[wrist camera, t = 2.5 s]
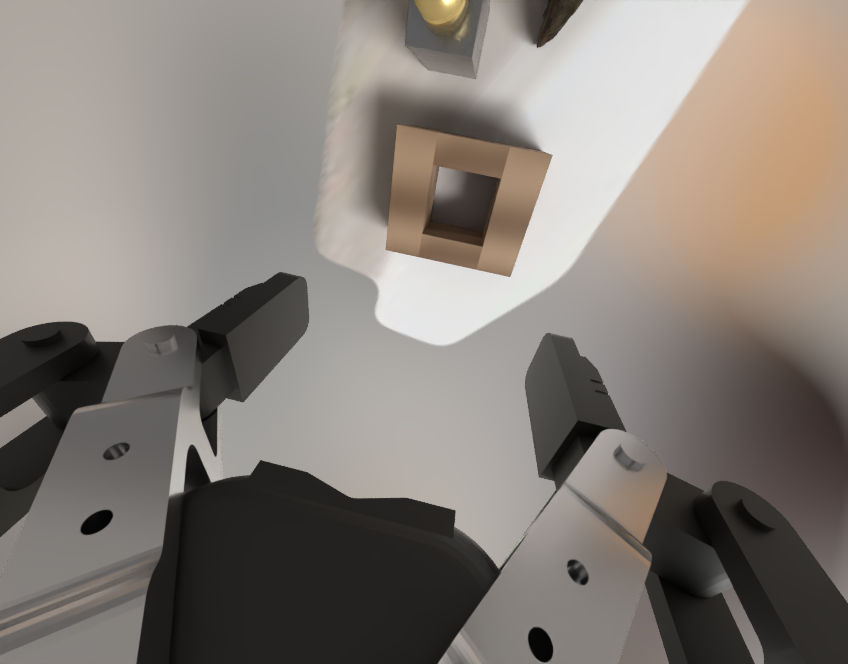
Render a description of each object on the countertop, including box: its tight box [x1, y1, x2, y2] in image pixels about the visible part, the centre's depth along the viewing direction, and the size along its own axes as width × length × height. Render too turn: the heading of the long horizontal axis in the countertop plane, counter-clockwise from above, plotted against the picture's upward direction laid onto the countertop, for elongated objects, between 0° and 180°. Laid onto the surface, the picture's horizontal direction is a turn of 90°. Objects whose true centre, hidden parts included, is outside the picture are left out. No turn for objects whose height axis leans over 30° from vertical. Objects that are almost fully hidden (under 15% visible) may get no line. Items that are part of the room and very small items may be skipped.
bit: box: [405, 0, 490, 79], centre depth 19 cm, size 4×4×12 cm
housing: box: [386, 125, 552, 277], centre depth 28 cm, size 10×12×5 cm
